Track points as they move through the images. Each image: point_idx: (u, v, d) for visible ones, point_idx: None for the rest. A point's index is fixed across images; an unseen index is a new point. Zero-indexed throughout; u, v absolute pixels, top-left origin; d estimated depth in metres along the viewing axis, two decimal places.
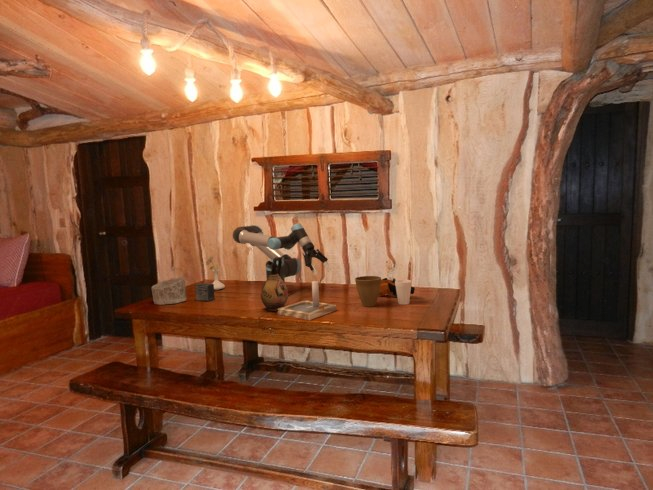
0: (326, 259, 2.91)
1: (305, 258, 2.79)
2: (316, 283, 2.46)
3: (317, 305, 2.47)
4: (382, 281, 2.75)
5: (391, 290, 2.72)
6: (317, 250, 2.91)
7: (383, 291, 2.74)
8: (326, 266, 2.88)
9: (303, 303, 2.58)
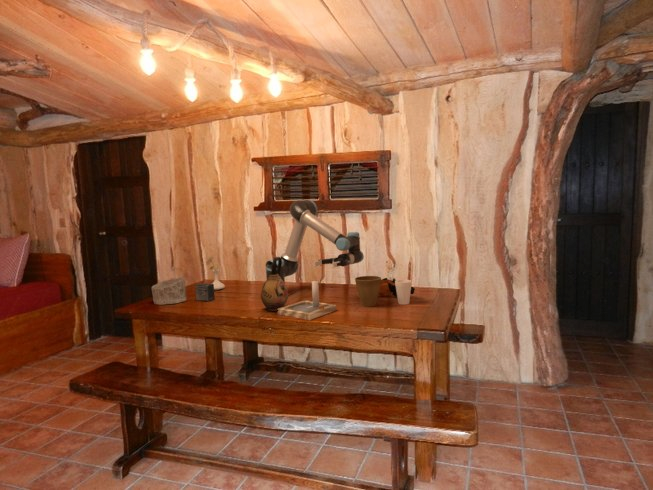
0: None
1: (347, 262, 2.58)
2: (316, 283, 2.46)
3: (317, 305, 2.47)
4: (382, 281, 2.75)
5: (391, 290, 2.72)
6: None
7: (383, 291, 2.74)
8: (318, 263, 2.60)
9: (303, 303, 2.58)
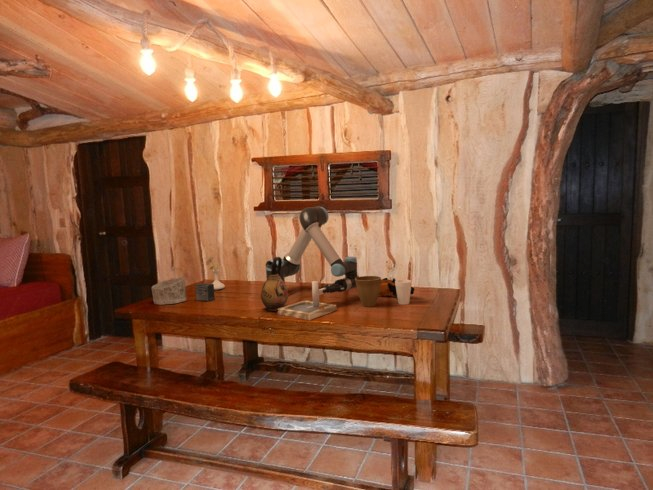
0: None
1: (337, 289, 2.56)
2: (316, 283, 2.46)
3: (317, 305, 2.47)
4: (382, 281, 2.75)
5: (391, 290, 2.72)
6: None
7: (383, 291, 2.74)
8: None
9: (303, 303, 2.58)
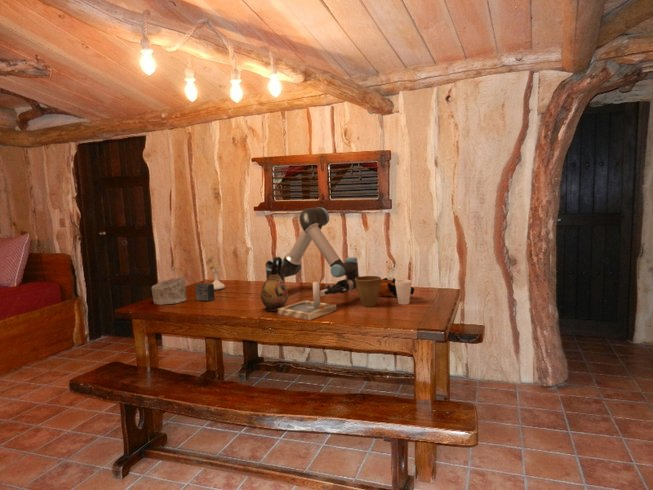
0: None
1: (339, 291, 2.53)
2: (315, 284, 2.43)
3: (316, 306, 2.44)
4: (382, 281, 2.75)
5: (391, 290, 2.72)
6: None
7: (383, 291, 2.74)
8: None
9: (303, 303, 2.58)
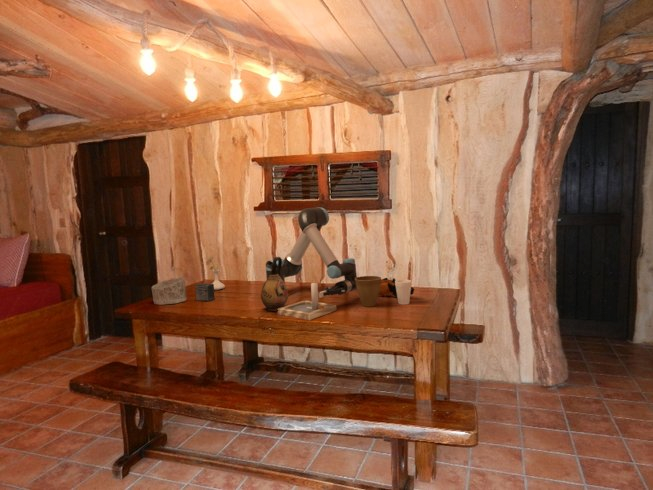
0: None
1: (338, 292, 2.50)
2: (312, 285, 2.40)
3: (313, 308, 2.42)
4: (382, 281, 2.75)
5: (391, 290, 2.72)
6: None
7: (383, 291, 2.75)
8: None
9: (303, 303, 2.58)
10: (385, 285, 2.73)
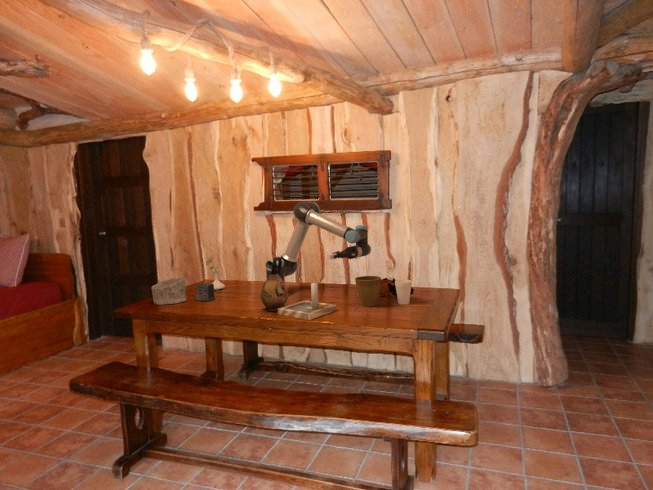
0: None
1: (348, 255, 2.58)
2: (312, 285, 2.40)
3: (313, 308, 2.42)
4: (382, 281, 2.75)
5: (391, 290, 2.72)
6: None
7: (383, 291, 2.75)
8: None
9: (303, 303, 2.58)
10: (385, 285, 2.73)
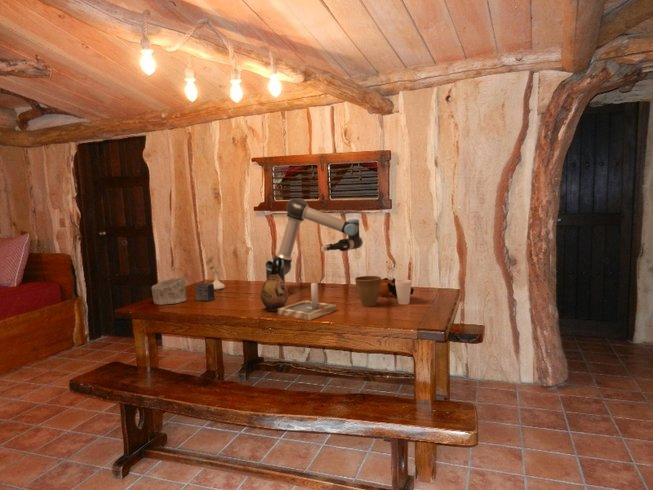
0: None
1: (340, 247, 2.73)
2: (312, 285, 2.40)
3: (313, 308, 2.42)
4: (382, 281, 2.76)
5: (390, 290, 2.72)
6: None
7: (383, 291, 2.75)
8: None
9: (303, 303, 2.58)
10: (385, 285, 2.73)
